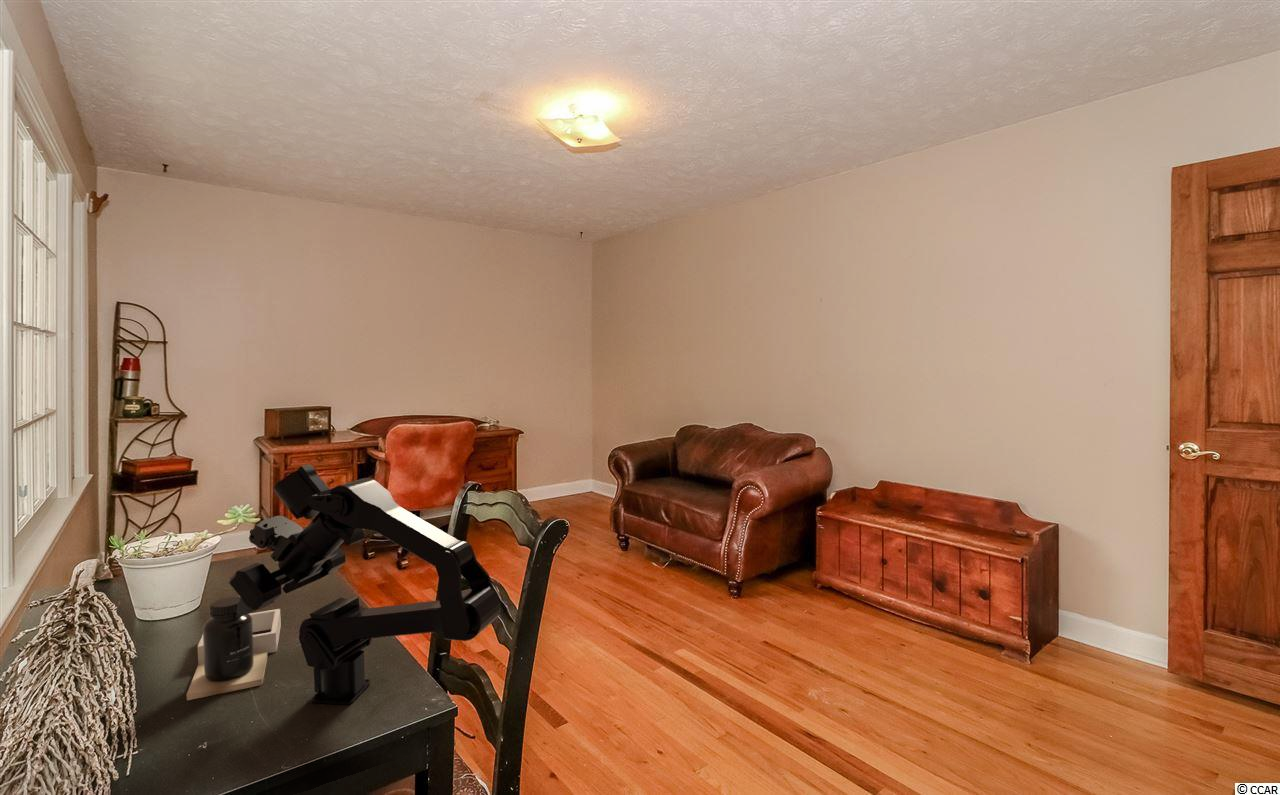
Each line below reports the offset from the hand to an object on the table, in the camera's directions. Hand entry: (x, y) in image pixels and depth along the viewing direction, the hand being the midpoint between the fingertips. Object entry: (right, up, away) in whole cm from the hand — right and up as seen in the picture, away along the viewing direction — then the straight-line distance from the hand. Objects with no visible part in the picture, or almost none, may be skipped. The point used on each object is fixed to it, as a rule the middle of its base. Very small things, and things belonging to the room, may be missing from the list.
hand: (262, 601), depth 100 cm
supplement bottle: (-7, -13, +2) cm, 15 cm away
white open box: (-12, -13, +14) cm, 22 cm away
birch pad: (-7, -13, +2) cm, 15 cm away
